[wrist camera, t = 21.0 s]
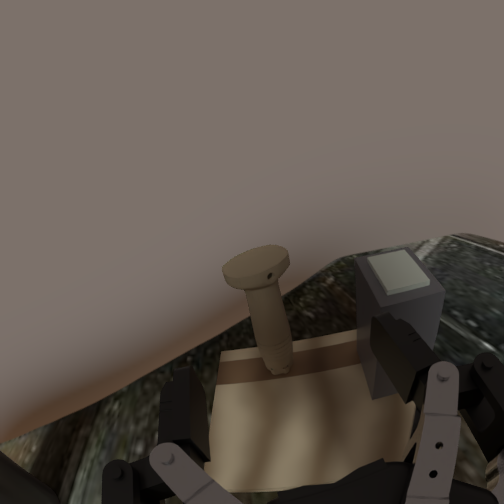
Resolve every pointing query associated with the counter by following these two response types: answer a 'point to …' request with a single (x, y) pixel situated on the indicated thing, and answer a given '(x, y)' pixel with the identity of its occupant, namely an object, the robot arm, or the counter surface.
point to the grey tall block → (394, 305)
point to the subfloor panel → (300, 418)
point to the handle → (265, 301)
